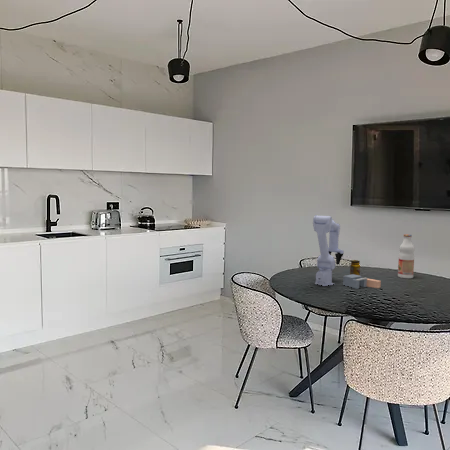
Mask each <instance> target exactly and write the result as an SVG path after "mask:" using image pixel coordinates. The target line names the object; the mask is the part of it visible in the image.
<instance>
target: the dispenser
mask: <svg viewBox="0 0 450 450" xmlns="http://www.w3.org/2000/svg"><path fill="white" fill-rule="evenodd" d="M342 278H343V279H342V280H343V281H342V285H345V286H344V287H347V286H349V287H348V288H351V287H352V289H356V290H357V289H358V290H359V289H360V287H361V288H367V287H368V286H367V278H368V277H363V275H360V276H359V275H355V274H352V275H350V274H348V275H343V276H342Z"/></svg>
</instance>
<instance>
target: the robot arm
mask: <svg viewBox="0 0 450 450" xmlns="http://www.w3.org/2000/svg"><path fill="white" fill-rule="evenodd" d="M312 226H313V231H314V232H315V233H316V234H317V235H316V236H317V241H318V246H319V252H320V254H319V255H318V257H317V259H316V261H317V262H316V266H317V268H318V271H316V274H315V282H314V284H315V285H317V284H318V286H321V285H322V286H321V287H329V286H333V284H334V285H335V283H333V282H332V281H333V279H332V277H333V270H335V268H336V265H340V263H341V260H342V258H343V257H344V252H345V251H344V250H343V249H340V248H339V235H340V231H341V225H340V224H339V222H335V220H334V219H333V218H332V216H331V215H316V214H315V215H314V216H313V219H312ZM327 233H329V234H328V236H329V237H328V238H327ZM332 253H335V254H334V256H335V257H334V256H333V255H332ZM328 285H329V286H328Z"/></svg>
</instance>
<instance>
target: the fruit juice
mask: <svg viewBox="0 0 450 450" xmlns="http://www.w3.org/2000/svg"><path fill="white" fill-rule="evenodd" d="M414 253H415V245H414V243H413V242H412V234H407V233H406V234H403V239H402V243H401V244H400V245H399V253H398V266H397V277H398V278H401V279H413V278H414V269H415V268H414V267H415V254H414Z"/></svg>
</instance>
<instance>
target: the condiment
mask: <svg viewBox="0 0 450 450" xmlns="http://www.w3.org/2000/svg"><path fill="white" fill-rule="evenodd" d="M360 263H361V262H360V260H358V259H352V260H351V261H350V266H349V267H350V268H349V275H352V274H355V275H359V276H361V274H360V273H361V264H360Z"/></svg>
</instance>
